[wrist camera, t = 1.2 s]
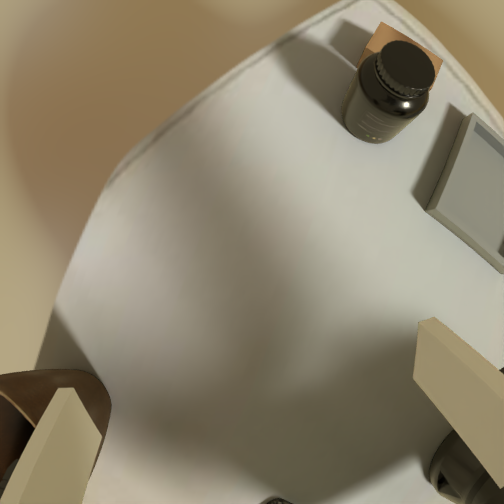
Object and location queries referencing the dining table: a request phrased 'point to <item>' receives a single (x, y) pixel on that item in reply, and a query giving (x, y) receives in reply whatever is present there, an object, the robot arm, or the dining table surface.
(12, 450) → the plant pot
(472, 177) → the tray
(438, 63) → the block
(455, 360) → the robot arm
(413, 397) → the dining table surface
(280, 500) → the phone
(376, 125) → the supplement bottle
